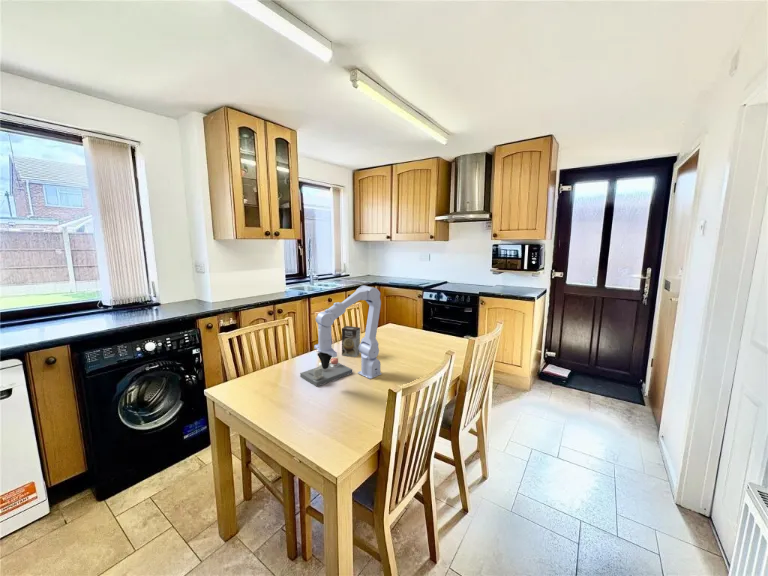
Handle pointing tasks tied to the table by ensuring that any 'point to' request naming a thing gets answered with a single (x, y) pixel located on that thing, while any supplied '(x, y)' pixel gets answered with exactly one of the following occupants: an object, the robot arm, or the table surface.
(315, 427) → the table surface
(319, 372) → the grey square block
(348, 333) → the coffee box
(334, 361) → the red button
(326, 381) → the control panel
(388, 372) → the table surface
